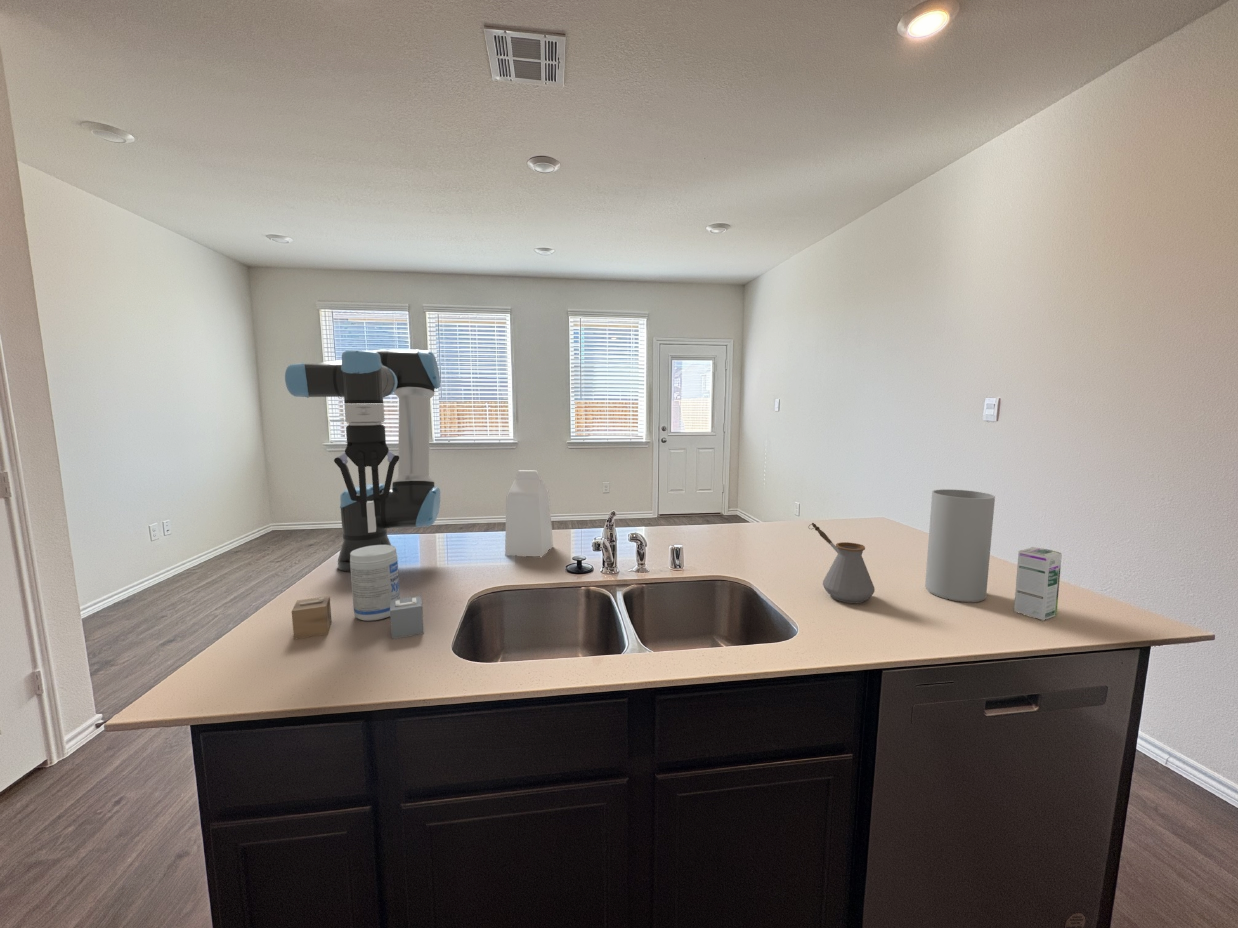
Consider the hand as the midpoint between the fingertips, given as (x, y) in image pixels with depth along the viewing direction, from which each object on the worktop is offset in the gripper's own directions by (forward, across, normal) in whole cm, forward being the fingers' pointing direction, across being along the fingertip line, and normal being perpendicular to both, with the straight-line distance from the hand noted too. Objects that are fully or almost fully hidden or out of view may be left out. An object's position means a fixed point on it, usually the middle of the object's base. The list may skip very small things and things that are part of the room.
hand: (372, 530), depth 111 cm
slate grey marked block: (+19, +6, -12) cm, 23 cm away
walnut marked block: (+19, -12, -4) cm, 23 cm away
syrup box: (+19, +134, -61) cm, 148 cm away
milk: (+19, +43, +33) cm, 58 cm away
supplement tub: (+19, 0, 0) cm, 19 cm away
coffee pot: (+19, +105, -32) cm, 111 cm away
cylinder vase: (+19, +130, -46) cm, 139 cm away
